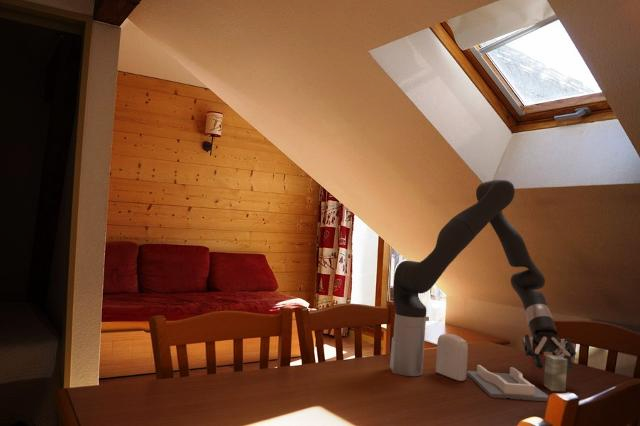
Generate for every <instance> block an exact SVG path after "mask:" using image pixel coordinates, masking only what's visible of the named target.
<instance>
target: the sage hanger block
mask: <svg viewBox="0 0 640 426" xmlns="http://www.w3.org/2000/svg"><path fill="white" fill-rule="evenodd" d="M544 359H545V361H544V362H545V363H544V374H543V377H544V378H543V386H544V387H545V388H546V389H548V390H549V391H551V392H566V389H567V387H566V385H567V373H568V371H567V359H565V358H563V357H561V356H558V355H557V354H554V355H553V354H545V358H544Z"/></svg>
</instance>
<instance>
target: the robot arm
mask: <svg viewBox="0 0 640 426" xmlns="http://www.w3.org/2000/svg"><path fill="white" fill-rule="evenodd" d="M515 190H516V189H515V186H514V184H513V182H511V181H510V180H508V179H505V178H504V179H503V178H497V179H494V180H489V181H484V182H482V183H480V184H479V185H478V186H477V187H476V191H475V195H476V196H475V197H476V200H477V202H476V203H474V204H472V205H471V206H469V207H467V208H466V209H464V210H462V211H461V212H459V213H457V214H456V215H454V217H451V219H450V220H449V221H448V222H447V223H446V224H445V225H444V226H443V227H442V228H441V229H440V231H439V233H438V235H437V239H436V242H435V243H436V244H435V247H434V249H433V250H432V251H431V252H430V253H429V254H428V255H427V256H426V257H425V258H424V259H422V260H421V261H413V260H402V261H401V262H400V263H399V264H397V266H396V268H395V270H394V276H393V293H392V294H393V299H392V300H393V305H394V310H395V311H394V313H395V314H394V325H393V336H392V337H391V344H390V345H391V347H390V348H391V349H390V362H389V369H390V371H391V373H392V374H395V375H401V376H405V377H407V376H408V377H419V376H422V374H423V368H424V367H423V365H424V352H425V337H426V323H427V307H426V305H425V304H424V303H423V302H422V301H421V300H420V297H419V294H425V293H426V292H428V291H430V290H431V288H433V287H434V285H435V284H436V283H437V281H438V280H439V279H440V277H441V276H442V275H443V273H444V272H445V271H446V269H447V268H448V267H449V266H450V264H451V263H452V262H454V260H455V259H456V258H457V257H458V256H459V255H460V254H461V253H462V251H463V250H464V249H465V248H466V247H468V246H469V245H470V243H471V242H472V241H473V240H474V239H475V238H476V237H477V236H478V235H479V233H480V232H482V230H483V229H484V228H486V226H487V225H488V224H490V225H491V227H492V228H493V230H494V232H495V234H496V236H497V237H498V239H499V242H500V243H501V246H502V248H503V252H504V255H505V256H506V259H507V261H508V263H509V266H511V267H512V268H521V267H523V268H526V270H522V271H520V272H519V271H517V272H516V273H514V274H512V275H511V277H510V284H511V286H512V288H513V290H514V291H515V292H516V294H517V295H518V297H519V298H520V300H521V303H522V305H523V308H524V309H523V310H524V313H525V318H526V322H527V325H528V328H529V332H530V335H531V336H530V335H529V334H525V335H524V336H523V339H522V344H523V349H524V353H525V356H527V357H529V356H530V357H532V360H533V362H534V365H535V367H536V368H537V370H542V368H543V367H544V364H543V363H544V362H543V360H542V357H541V354H539V353H540V352H541V351H543V353H551V354H552V353H554V354H555V355H558V356H561V357H563V358H565V359H567V372H571V371H572V369H573V368H574V364H573V361H572V360H573V359H574V357H575V356H576V354H577V352H576V351H575V348H574V346H573V343H572V341H571V339H570V338H569V337H565V338H560V337H559V335H558V330H557V327H556V324H555V321H554V318H553V315H552V312H551V310H550V309H549V306H548V303H547V301H546V300H547V299H546V297H545V295H544V294H543V292H542V291H539V290H541V289H542V288H544V286H545V285H546V279H545V276H544V274H543V273H542V271H541V269H539V267H538V266H537V265H536V264H535V263H534V260H533V259H532V258H531V255H530V253H529V251H528V248H527V244H526V243H525V241H524V238H523V237H522V235H521V234H520V233H519V231H518V230H517V229H516V228H515V227H514V226H513V225H512V224H511V223H510V222H509V221H508V219H507V217H505V215H504V213H503V210H504V209H506V208H507V207H508V206H509V205H510V204H511V203H512V201H513V200H514V197H515V194H516V193H515V192H516V191H515ZM532 343H533V344H534V345H535V346H536V347H535V349H534V350H533V347H532Z"/></svg>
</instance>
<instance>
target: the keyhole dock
mask: <svg viewBox="0 0 640 426" xmlns="http://www.w3.org/2000/svg"><path fill="white" fill-rule="evenodd" d="M466 376H468V377H469V378H470V379H471V380H472V381H473V382H474V383H475V384H477V386H479V388H481V389H482V391H484V393H486V395H488V396H489V397H490V398H492V397H493V398H495V399H506V398H510V399H509V400H521V399H522V400H521V401H523V400H524V401H538V402H548V401H547V399H548V396H549V395H548V394H547V393H545V392H544V391H542V390H541V389H540V388H539V387H537V386H535V385H534V384H533V383H531V382H530V381H528V380H527V379H525V377H523V373H522V372H521V371H519V370H518V369H516V368H515V367H514V366H512V367H511V366H510V367H509V373H506V372H505V373H503V372H492V371H489V370H487V369H486V367H483V366H482V365H481V364H477V366H476V371H475V370H467V374H466Z"/></svg>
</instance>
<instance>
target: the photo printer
mask: <svg viewBox="0 0 640 426" xmlns="http://www.w3.org/2000/svg"><path fill="white" fill-rule="evenodd" d="M436 344H437V345H436V359H435V360H436V361H435V372H436V373H437V374H440V375H442V376H444V377H447V378H450V379H452V380H455V381H460V382H463V381H465V380H466V379H467V371H468V370H467V369H468V354H469V353H468V352H469V351H468V350H469V344H468V342H467V341H466V340H465V339H463V338H462V337H460V336H458V335H456V334H454V333H445V334H440V335H439V336H438V339H437V343H436Z"/></svg>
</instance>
